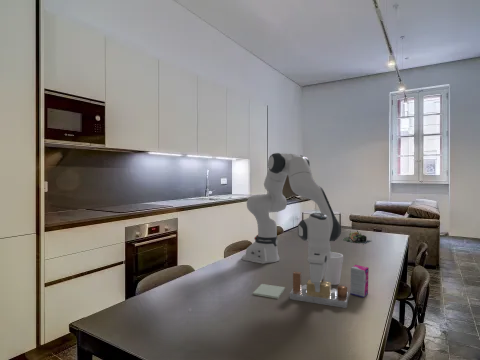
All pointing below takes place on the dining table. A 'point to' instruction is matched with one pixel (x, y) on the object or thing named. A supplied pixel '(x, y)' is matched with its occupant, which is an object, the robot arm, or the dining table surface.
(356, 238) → the plated dish
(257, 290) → the sage mat
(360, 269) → the supplement box
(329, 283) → the tan upright box
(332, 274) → the foam cup
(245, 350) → the dining table surface
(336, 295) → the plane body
